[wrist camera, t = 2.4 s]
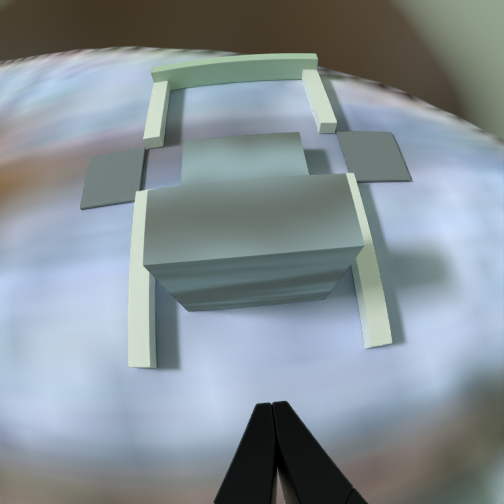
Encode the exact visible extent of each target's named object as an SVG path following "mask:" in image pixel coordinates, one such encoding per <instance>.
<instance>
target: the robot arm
mask: <svg viewBox="0 0 504 504" xmlns="http://www.w3.org/2000/svg"><path fill="white" fill-rule="evenodd" d="M277 468H278V474H279V478H280V482H281V486H282V490H283V494H284V498H285V501H286V504H368V503H367V502H366V501H365V499H364V498H363V497H362V496H361V495H360V494H359V492H358V491H357V490H356V489H355V488H353V485H352V484H351V483H350V482H349V481H348V479H347V478H346V477H345V476H344V474H343V473H342V472H341V471H340V469H339V468H338V467H337V466H336V464H335V463H334V462H333V461H332V459H331V458H330V457H329V456H328V454H327V453H326V452H325V450H324V449H323V448H322V447H321V445H320V444H319V443H318V441H317V440H316V439H315V438H314V436H313V435H312V434H311V432H310V431H309V430H308V428H307V427H306V426H305V424H304V423H303V422H302V420H301V419H300V418H299V416H298V415H297V414H296V412H295V411H294V410H293V408H292V407H291V406H290V404H289V403H288V402H287V401H279V402H273V403H272V405H271V403H258V404H256V406H255V408H254V410H253V413H252V415H251V417H250V420H249V422H248V425H247V427H246V429H245V432H244V434H243V437H242V439H241V441H240V444H239V446H238V448H237V451H236V453H235V455H234V458H233V460H232V462H231V464H230V467H229V469H228V471H227V473H226V476H225V478H224V480H223V482H222V484H221V487H220V489H219V491H218V493H217V495H216V497H215V500H214V504H276V496H277ZM352 488H353V489H352Z"/></svg>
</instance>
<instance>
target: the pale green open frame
mask: <svg viewBox="0 0 504 504" xmlns="http://www.w3.org/2000/svg"><path fill="white" fill-rule="evenodd" d="M317 62H318V58H317V56H316V54H258V55H241V56H229V57H218V58H209V59H201V60H193V61H186V62H180V63H173V64H168V65H162V66H156V67H152V71H151V75H152V78H153V81H154V85H153V90H152V95H151V100H150V105H149V110H148V115H147V121H146V126H145V132H144V138H143V139H144V142H145V144H146V147H147V149H151V148H157V147H163V144H164V135H165V126H166V118H167V111H168V103H169V96H170V90H175V89H182V88H189V87H196V86H204V85H213V84H222V83H233V82H246V81H262V80H288V79H302V82H303V85H304V88H305V91H306V94H307V97H308V100H309V103H310V106H311V110H312V113H313V116H314V119H315V122H316V126H317V129H318V133H335V129H336V125H337V121H336V118H335V115H334V113H333V110H332V107H331V105H330V102H329V99H328V97H327V94H326V91H325V89H324V86H323V84H322V81H321V79H320V76H319V74H318V72H317ZM336 174H341V173H336ZM346 176H347V179H348V183H349V186H350V190H351V193H352V197H353V201H354V204H355V208H356V212H357V216H358V220H359V224H360V228H361V232H362V236H363V241H364V245H365V246H364V247H363V249H362V250H361V251H360V253H359V254H358V256H357V257H356V258H355V260H354V261H353V262H352V264H351V268H352V273H353V278H354V284H355V289H356V295H357V301H358V306H359V313H360V319H361V325H362V332H363V338H364V346H365V349H368V348H373V347H379V346H384V345H387V344H390V343H392V337H391V331H390V324H389V319H388V313H387V307H386V302H385V297H384V291H383V286H382V281H381V277H380V272H379V267H378V263H377V258H376V254H375V250H374V245H373V241H372V237H371V233H370V229H369V225H368V221H367V218H366V214H365V210H364V206H363V203H362V199H361V196H360V192H359V189H358V185H357V182H356V179H355V175H354V173H346ZM150 190H154V189H150ZM147 193H148V190H143V191H136V196H135V205H134V215H133V226H132V238H131V252H130V269H129V295H128V360H129V367H133V368H157V362H156V330H155V278H154V277H153V276H152V274H151V273H150V272H149V271H148V270H147V269H146V268H145V267H144V266H143V249H144V231H145V217H146V204H147Z"/></svg>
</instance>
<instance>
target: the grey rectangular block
mask: <svg viewBox="0 0 504 504" xmlns="http://www.w3.org/2000/svg"><path fill="white" fill-rule="evenodd" d="M364 246H365V245H364V241H363V236H362V232H361V228H360V224H359V220H358V216H357V212H356V208H355V204H354V201H353V197H352V193H351V190H350V186H349V183H348V179H347V176H346V173H341V174H317V175H309V172H308V168H307V163H306V159H305V155H304V151H303V146H302V142H301V138H300V134H299V132H291V133H272V134H256V135H244V136H232V137H222V138H212V139H204V140H195V141H187V142H183V154H182V176H181V186H177V187H169V188H161V189H154V190H148V193H147V204H146V217H145V231H144V249H143V266H144V267H145V268H146V269H147V270H148V271H149V272H150V273H151V274H152V276H153V277H154V278H155V279H156V280H157V281H158V282H159V283H160V284H161V285H162V286H163V287H164V288H165V289H166V290H167V291H168V292H169V293H170V294H171V295H172V296H173V297H174V298H175V299H176V300H177V301H178V302H179V303H180V304H181V305H182V306H183V307H184V308H185V309H186V310H187V311H188V312H189V311H204V310H218V309H231V308H243V307H254V306H265V305H276V304H286V303H295V302H305V301H314V300H322V299H325V298H326V297H327V296H328V294H329V293H330V292H331V290H332V289H333V288H334V286H335V285H336V284H337V283H338V281H339V280H340V279H341V277H342V276H343V275H344V273H345V272H346V271H347V269H348V268H349V266H350V265H351V264H352V262H353V261H354V260H355V258H356V257H357V256H358V254H359V253H360V251H361V250H362V249H363V247H364Z"/></svg>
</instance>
